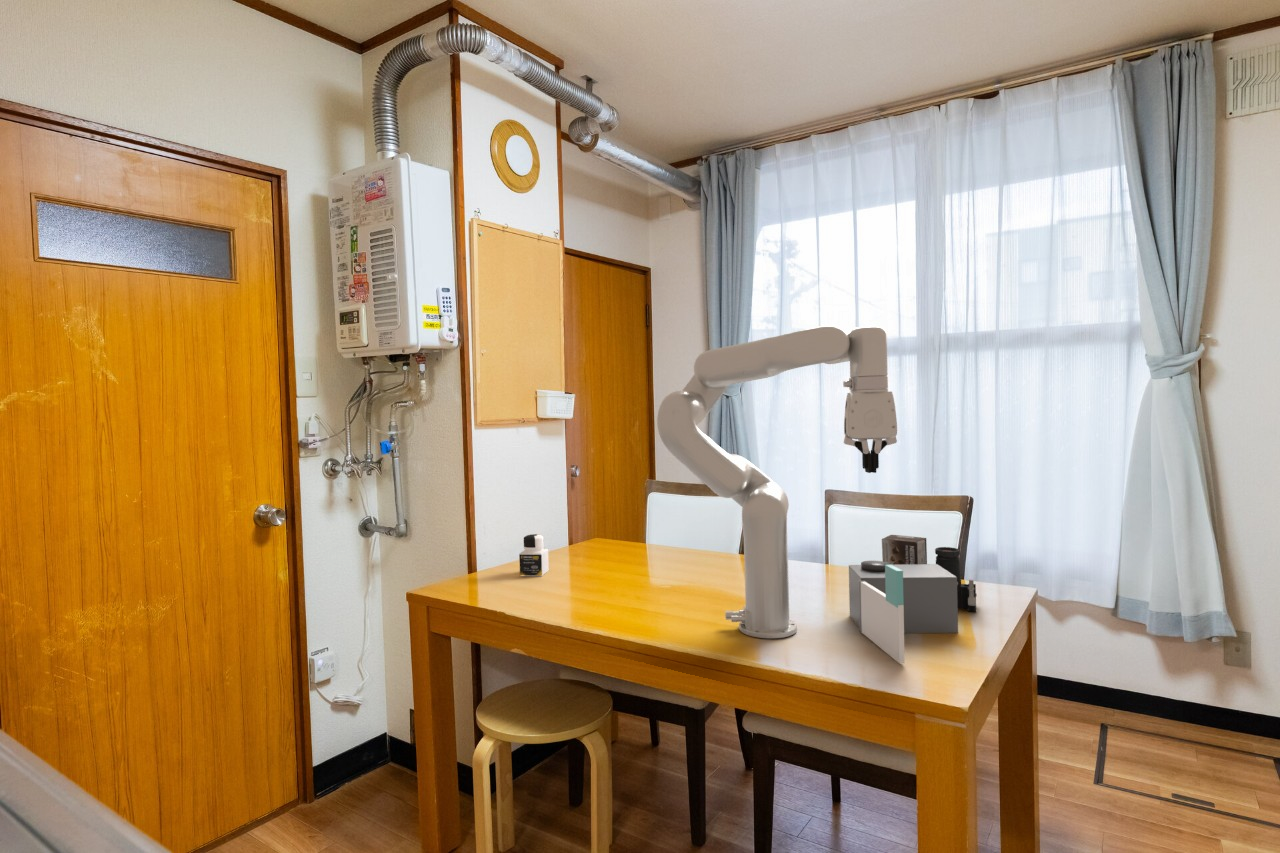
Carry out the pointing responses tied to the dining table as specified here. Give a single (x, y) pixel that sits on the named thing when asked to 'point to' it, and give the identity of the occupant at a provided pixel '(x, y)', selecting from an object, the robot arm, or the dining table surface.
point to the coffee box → (904, 550)
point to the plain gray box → (913, 595)
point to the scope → (951, 563)
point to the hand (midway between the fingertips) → (870, 472)
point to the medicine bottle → (534, 556)
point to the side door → (884, 613)
